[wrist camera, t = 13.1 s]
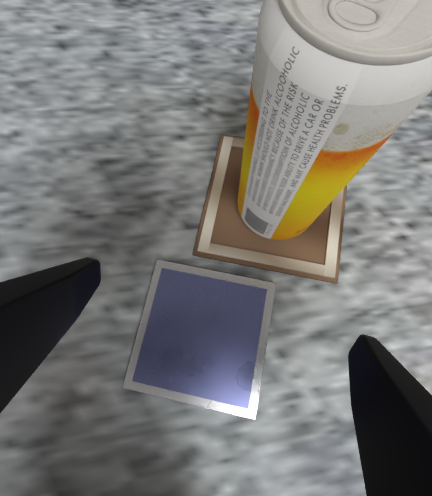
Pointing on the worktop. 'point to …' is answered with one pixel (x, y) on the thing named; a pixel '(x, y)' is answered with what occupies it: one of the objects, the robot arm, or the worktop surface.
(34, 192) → the worktop surface
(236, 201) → the marked square
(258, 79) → the beer can
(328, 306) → the worktop surface
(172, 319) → the ink pad
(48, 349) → the robot arm
